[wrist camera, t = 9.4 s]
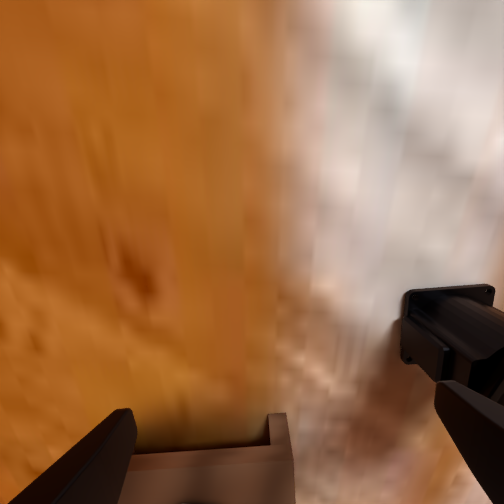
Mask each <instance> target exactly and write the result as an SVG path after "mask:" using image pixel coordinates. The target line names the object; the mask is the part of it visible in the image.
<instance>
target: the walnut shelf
mask: <svg viewBox="0 0 504 504" xmlns="http://www.w3.org/2000/svg"><path fill="white" fill-rule="evenodd" d="M268 418H269V431H270V443H271V445H269V446H255V447H241V448H226V449H212V450H197V451H183V452H169V453H154V454H140V455H136V454H135V450H134V449H133V453H132V456H131V460H130V463H129V467H128V470H127V474H126V477H125V481H124V484H123V488H122V491H121V495H120V498H119V501H118V504H182V503H184V504H296V502H295V482H294V463H293V455H292V448H291V442H290V436H289V429H288V423H287V416H286V413H276V414H268Z"/></svg>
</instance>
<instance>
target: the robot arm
mask: <svg viewBox="0 0 504 504" xmlns="http://www.w3.org/2000/svg"><path fill="white" fill-rule="evenodd" d="M486 290H487V291H486ZM485 291H486V292H485ZM413 295H415V297H414V298H412V297H413ZM494 295H495V288H494V287H493V286H491V285H488V284H476V285H463V286H451V287H438V288H425V289H412V290H409V291H408V292H407V293H406V297H405V309H404V317H403V319H402V330H401V342H400V345H401V355H400V357H401V359H402V361H403V362H404V363H405V364H418V365H419V366H420V367H421V368H422V369H423V370H424V371H425V372H426V373H427V374H428V375H429V377H430V378H431V379H432V380H433V381H434V382H436V383H437V384H436V390H435V399H434V407H435V410H436V412H437V414H438V416H439V418H440V419H441V421H442V423H443V424H444V426H445V428H446V430H447V431H448V433H449V435H450V436H451V438H452V440H453V441H454V443H455V445H456V447H457V448H458V450H459V452H460V453H461V455H462V457H463V458H464V460H465V462H466V464H467V465H468V467H469V469H470V470H471V472H472V473H473V475H474V477H475V478H476V480H477V481H478V482H479V484H480V485H481V487H482V488H483V490H484V491H485V493H486V494H487V496H488V497H489V499H490V500H491V501H492V503H493V504H504V312H502V311H500V310H498V309H496V308H494V307H492V306H493V301H494ZM407 357H409V358H407ZM136 439H137V426H136V423H135V419H134V415H133V412H132V410H131V409H130V408H123V409H117V410H115V411H113V412H112V413H111V414H110V415H109V416H108V417H106V418H105V419H104V420H103V421H102V422H101V423H100V424H98V425H97V426H96V427H95V428H94V429H93V430H92V431H90V432H89V433H88V434H87V435H86V436H85V437H84V438H82V439H81V440H80V441H79V442H78V443H77V444H75V445H74V446H73V447H72V448H71V449H70V450H69V451H67V452H66V453H65V454H64V455H63V456H62V457H61V458H59V459H58V460H57V461H56V462H55V463H54V464H53V465H51V466H50V467H49V468H48V469H47V470H46V471H44V472H43V473H42V474H41V475H40V476H39V477H38V478H36V479H35V480H34V481H33V482H32V483H31V484H30V485H28V486H27V487H26V488H25V489H24V490H23V491H22V492H20V493H19V494H18V495H17V496H16V497H15V498H13V499H12V500H11V501H10V502H9V503H8V504H118V501H119V498H120V495H121V491H122V488H123V484H124V481H125V477H126V474H127V470H128V467H129V463H130V460H131V456H132V453H133V449H134V446H135V442H136Z"/></svg>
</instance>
